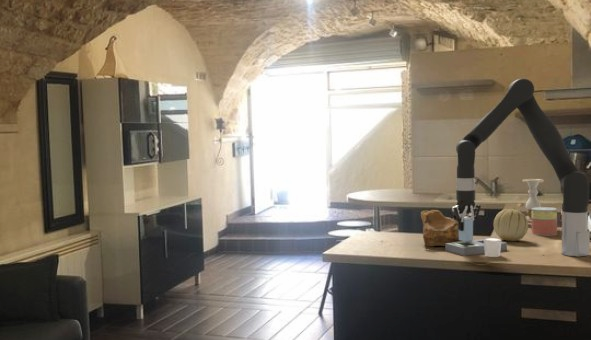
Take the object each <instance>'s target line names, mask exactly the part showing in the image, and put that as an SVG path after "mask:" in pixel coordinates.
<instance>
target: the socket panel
mask: <svg viewBox="0 0 591 340" xmlns="http://www.w3.org/2000/svg"><path fill="white" fill-rule="evenodd" d="M483 239H484V238H480V239H473V241H460V242H452V243H445V246H444V247H445V249H444V250H445V252H449V253H452V254H457V255H460V256H462V257H464V256H473V255H479V254H485V250H484V241H483ZM507 250H508V242H507V241H506V242H505V241H501V251H500V252H502V251H507Z"/></svg>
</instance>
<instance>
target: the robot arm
mask: <svg viewBox="0 0 591 340" xmlns="http://www.w3.org/2000/svg"><path fill="white" fill-rule="evenodd" d="M534 93H535V85H534V84H533V82H532V81H531V79H528V78H518V79H516V80H514V81H512V82H511V83H510V85H509V86H508V89H507V93H506V94H505V95H504V97H503V98H502V99H501V100H500V101H499V102H498V103H497V105H496V106H494V107H493V108H492V109H491V110H490V111H489V112H487V113H486V115H484V116H483V118H481V120H479V121H478V122H477V123H476V125H475V126H474V127H473V128H472V129H471V130H470V131H469V132H468V133H467V134H466V135H465V136H464V137H463V138H461V140H459V141H458V143H457V144H456V147H455V151H456V154H457V166H456V182H455V188H456V189H455V191H456V193H455V194H456V195H455V196H456V198H455V200H456V205H454V206H451V207H450V211H451V214H452V219H453V218H454V220H456V221H458V229H459V230H460V231H464V222H463V221H464V217H465V216H467V217H471V219H473V222H474V221H475V220H478V219H479V218H478V217H479V215H480V212H481V207H482V206H481V204H476V203H475V201H476V179H475V176H476V175H475V170H476V169H475V163H476V162H475V161H476V149H477V148H479V147H480V145H481V144H482V143H484V142H486V140H488V139H489V137H490V136H492V134H494V132H495V131H496V130H497V129H498V128H499V127H500V125H502V124H503V122H504V121H505V120H506V119H507V118H508V117H509V116H510V115H511V114H512V113H513V112H514V111H515V110H516V109H517V110H518V111H519V113H520V114H521V116H522V117H523V120H524V121H525V123H526V126H527V127H528V129H529V131H530V134H531V135H532V138H533V139H534V141H535V143H536V144H537V145H538V147H539V149H540V151H541V152H542V153H543V155H544V156H545V158H546V159H547V161H548V162H549V163H550V165H551V166H552V169H554V171H555V172H554V173H555V174H556V176H557V178H558V180H559V183H560V186H561V188H562V191H563V192H562V193H563V195H562V197H563V198H562V199H563V201H562V205H561V254H562V255H564V256H570V257H585V256H590V247H591V245H590V234H591V233H590V231H589V230H588V210H589V209H588V208H589V207H588V206H589V203H590V181H589V178H588V177H587V175H586V174H584V173H583V172H581V171H580V170H579V169H578V168H577V167H576V164H575V163H574V162H573V161H572V159H571V157H570V155H569V152H568V150H567V147H566V144H565V141H564V139H563V137H562V134H561V133H560V132H559V130H558V128H557V126H556V125H555V123H554V122H553V121H552V120H551V118H550V117H549V116H548V115H547V114H546V113H545V112H544V111H543V109H542V108H541V107H540V106H539V103H538V102H537V100H536V98H535V95H534Z"/></svg>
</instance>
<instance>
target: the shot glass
mask: <svg viewBox="0 0 591 340" xmlns="http://www.w3.org/2000/svg"><path fill="white" fill-rule="evenodd" d="M482 239H483V241H484V250H485V253H484V256H485V257H488V258H490V257H491V258H497V257H500V256H501V252H502V251H501V242H502V239H501V238H496V237H486V238H482Z"/></svg>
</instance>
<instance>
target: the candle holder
mask: <svg viewBox="0 0 591 340" xmlns="http://www.w3.org/2000/svg"><path fill="white" fill-rule="evenodd" d="M521 180H522V182H523V183H527V186H528V187H529V188H528V191H527V193H528V195H529V197H528V199H527V201H526V202H525V208H526V209H527V211H526V214H527V215H525V216H526V218H527V220H528V229H532V209H531V208H534V207H542V205H541V203H540V201H539V199H538V198H537V195H538V193H539V191H538V186H539V184H540V183H544V181H545V180H544V179H542V178H524V179H521Z"/></svg>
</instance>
